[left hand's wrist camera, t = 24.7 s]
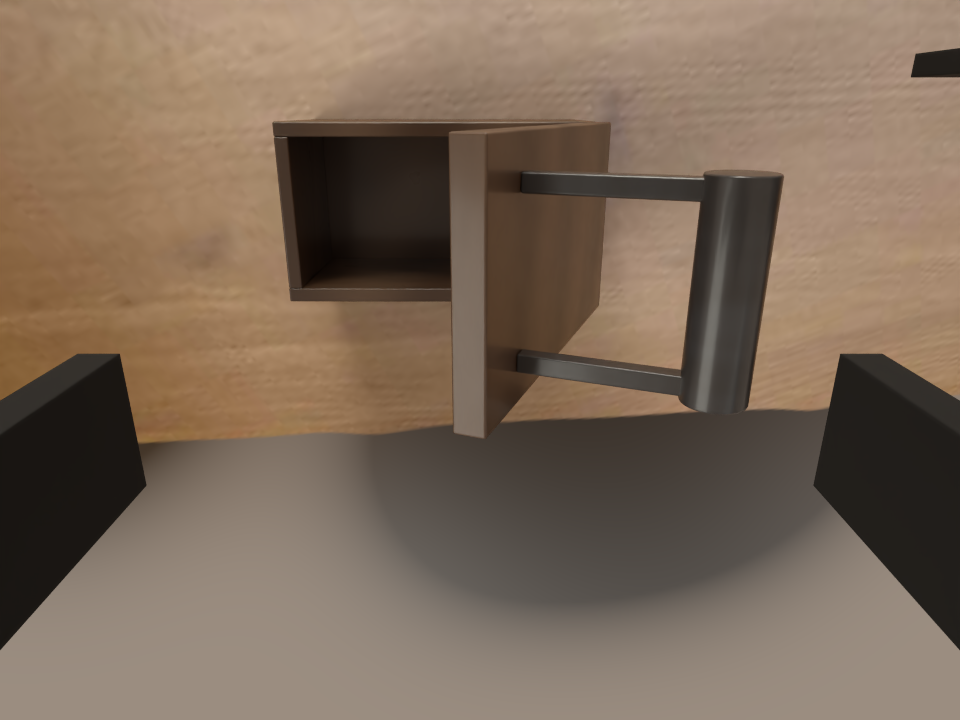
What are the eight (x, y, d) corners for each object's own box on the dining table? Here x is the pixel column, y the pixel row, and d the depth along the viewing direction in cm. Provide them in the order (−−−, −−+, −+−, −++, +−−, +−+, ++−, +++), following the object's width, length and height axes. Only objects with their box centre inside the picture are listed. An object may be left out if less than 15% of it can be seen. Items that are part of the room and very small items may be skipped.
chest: (324, 266, 46) (290, 301, 38) (312, 119, 42) (271, 121, 34) (567, 267, 46) (586, 301, 38) (574, 119, 42) (597, 122, 34)
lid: (452, 434, 22) (739, 487, 19) (447, 131, 19) (795, 136, 16) (577, 303, 37) (750, 321, 34) (587, 122, 34) (780, 123, 31)
